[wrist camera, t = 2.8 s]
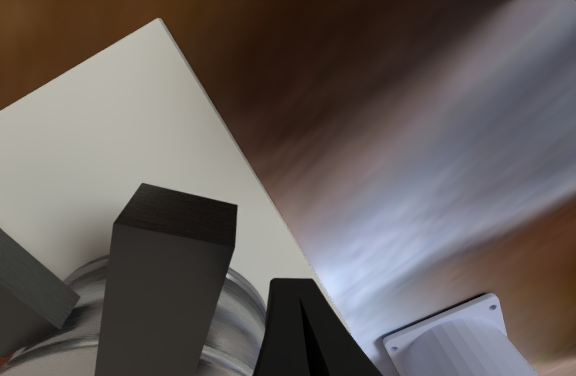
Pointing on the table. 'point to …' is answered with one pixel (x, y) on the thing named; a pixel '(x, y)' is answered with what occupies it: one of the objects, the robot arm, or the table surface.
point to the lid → (153, 294)
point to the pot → (89, 303)
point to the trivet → (131, 160)
